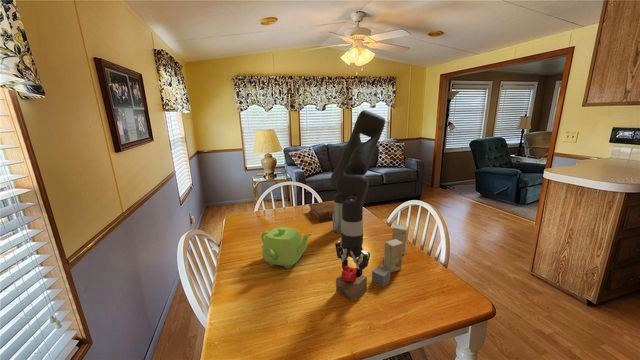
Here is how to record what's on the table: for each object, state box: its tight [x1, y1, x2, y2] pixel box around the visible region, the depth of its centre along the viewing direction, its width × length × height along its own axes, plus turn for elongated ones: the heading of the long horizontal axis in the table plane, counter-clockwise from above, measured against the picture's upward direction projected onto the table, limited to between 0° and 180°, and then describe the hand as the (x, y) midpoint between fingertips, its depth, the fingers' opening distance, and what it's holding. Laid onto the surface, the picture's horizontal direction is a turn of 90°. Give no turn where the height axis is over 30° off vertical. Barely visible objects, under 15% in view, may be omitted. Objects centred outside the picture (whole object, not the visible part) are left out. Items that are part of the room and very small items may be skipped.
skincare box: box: [383, 239, 403, 274], centre depth 111 cm, size 6×4×12 cm
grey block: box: [371, 265, 391, 289], centre depth 104 cm, size 5×5×5 cm
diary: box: [308, 199, 334, 223], centre depth 173 cm, size 23×19×6 cm
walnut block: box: [335, 272, 368, 303], centre depth 99 cm, size 8×8×6 cm
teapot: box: [260, 226, 313, 270], centre depth 116 cm, size 25×22×16 cm
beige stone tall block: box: [391, 224, 409, 255], centre depth 125 cm, size 6×4×12 cm
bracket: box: [341, 265, 357, 282], centre depth 97 cm, size 6×5×3 cm
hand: (351, 272), depth 98 cm, fingers closed on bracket, 5 cm apart
